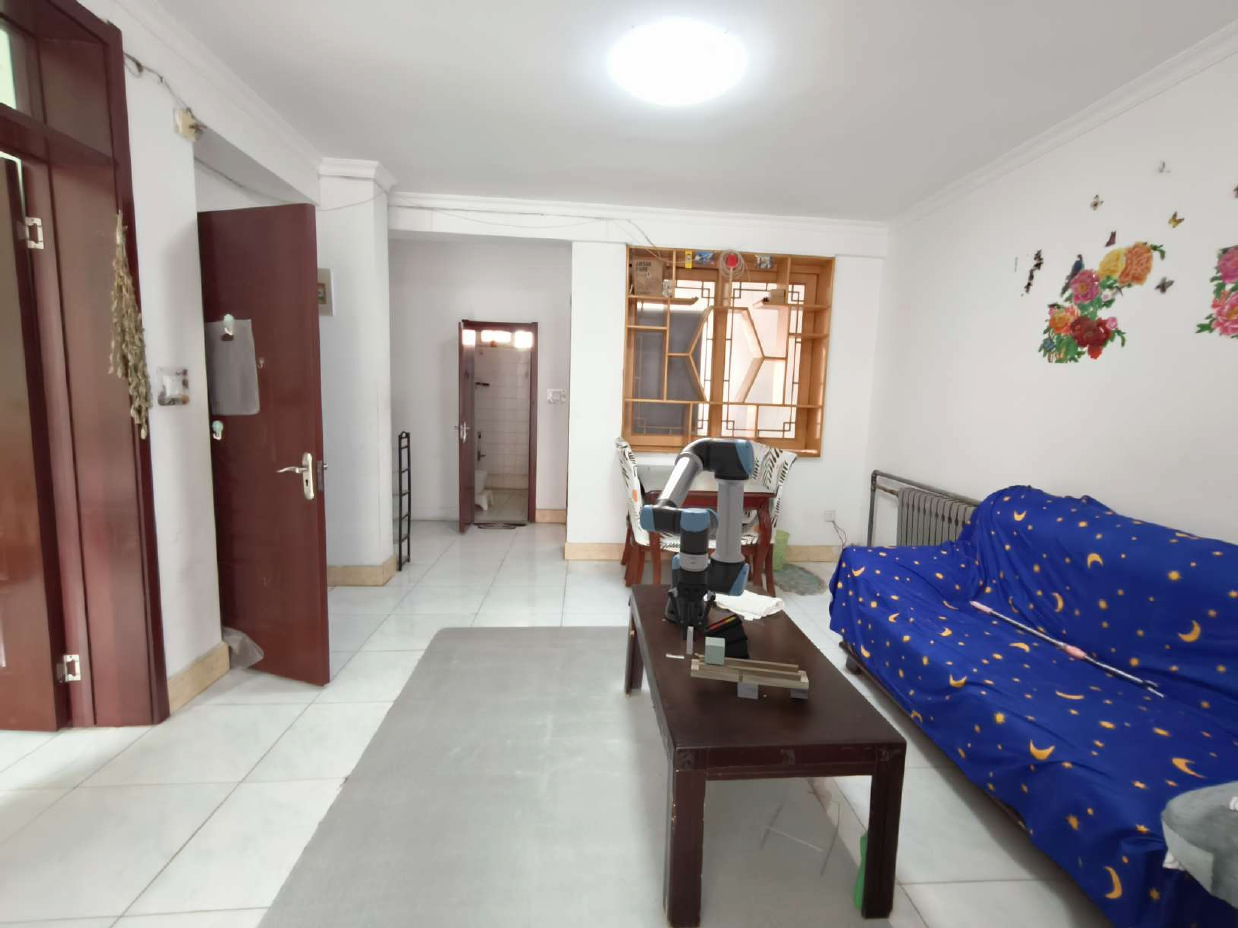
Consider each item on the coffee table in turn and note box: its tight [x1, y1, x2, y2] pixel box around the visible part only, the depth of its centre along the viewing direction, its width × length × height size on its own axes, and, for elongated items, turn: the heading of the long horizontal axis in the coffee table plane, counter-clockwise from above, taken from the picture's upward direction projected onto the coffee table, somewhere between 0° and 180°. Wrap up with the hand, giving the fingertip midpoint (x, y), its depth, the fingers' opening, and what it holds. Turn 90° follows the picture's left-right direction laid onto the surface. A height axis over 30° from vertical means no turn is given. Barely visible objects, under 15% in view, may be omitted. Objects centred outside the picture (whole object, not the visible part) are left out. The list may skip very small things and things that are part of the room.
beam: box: [690, 654, 810, 700], centre depth 144 cm, size 6×30×8 cm, turn 80°
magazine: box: [703, 613, 751, 660], centre depth 159 cm, size 4×13×15 cm, turn 92°
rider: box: [704, 636, 725, 665], centre depth 145 cm, size 5×5×7 cm
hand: (689, 651), depth 147 cm, fingers closed
